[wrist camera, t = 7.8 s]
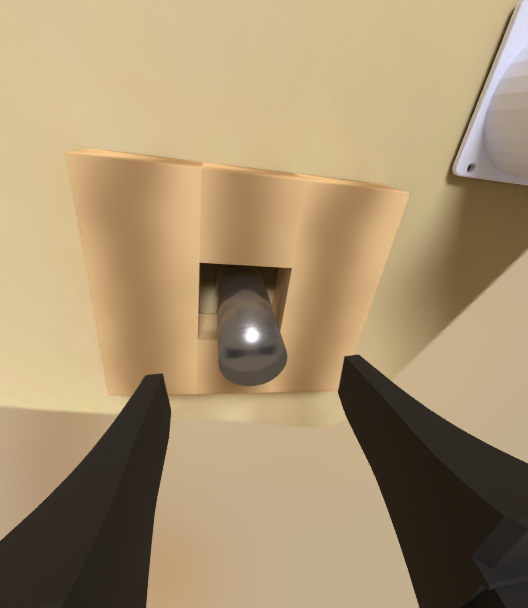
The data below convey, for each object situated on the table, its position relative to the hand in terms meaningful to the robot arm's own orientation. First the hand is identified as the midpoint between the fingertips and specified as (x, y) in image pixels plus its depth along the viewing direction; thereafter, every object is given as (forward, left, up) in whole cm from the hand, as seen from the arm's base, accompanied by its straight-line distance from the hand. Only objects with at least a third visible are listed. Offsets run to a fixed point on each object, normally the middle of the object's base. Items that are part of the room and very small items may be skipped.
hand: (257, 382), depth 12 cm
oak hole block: (0, 0, -9) cm, 9 cm away
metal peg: (0, 0, -9) cm, 9 cm away
